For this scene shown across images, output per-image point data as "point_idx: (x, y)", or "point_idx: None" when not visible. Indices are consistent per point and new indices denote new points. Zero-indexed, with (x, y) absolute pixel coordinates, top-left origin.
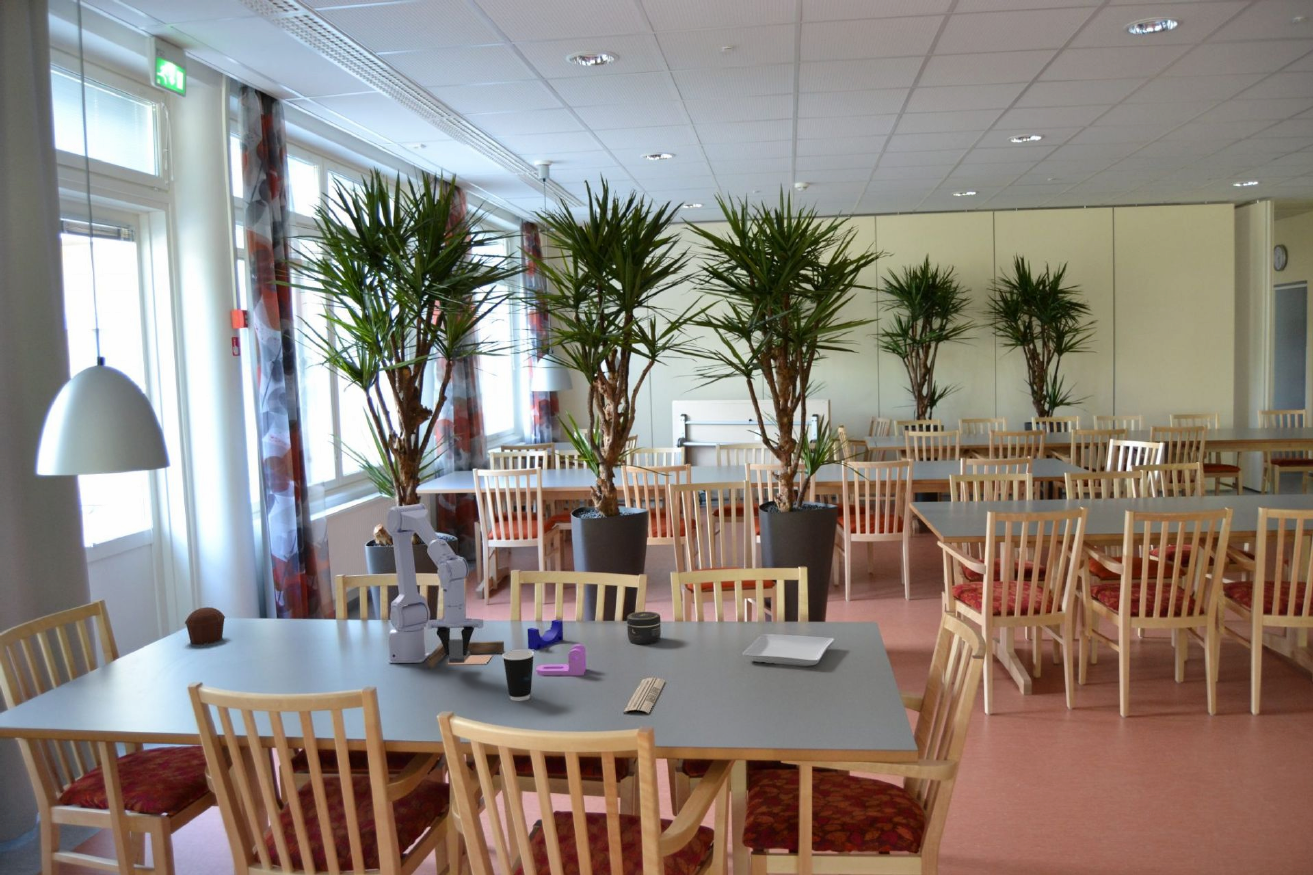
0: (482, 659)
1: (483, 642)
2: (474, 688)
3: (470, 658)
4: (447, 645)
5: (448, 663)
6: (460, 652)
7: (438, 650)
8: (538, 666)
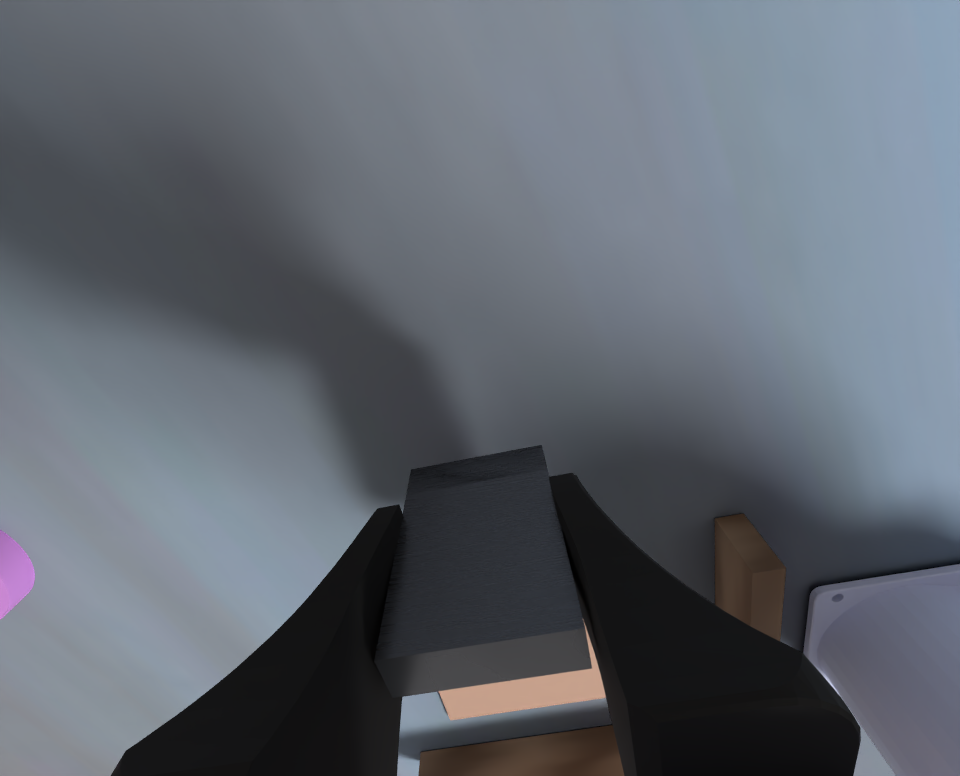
0: None
1: None
2: (176, 158)
3: None
4: (576, 560)
5: None
6: (430, 529)
7: None
8: (6, 593)
